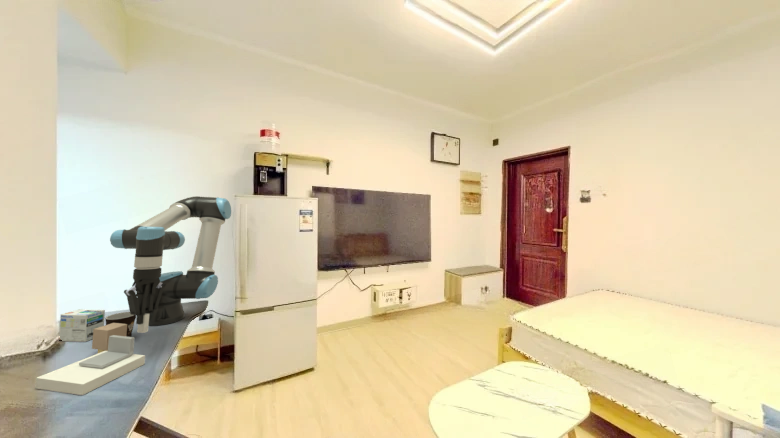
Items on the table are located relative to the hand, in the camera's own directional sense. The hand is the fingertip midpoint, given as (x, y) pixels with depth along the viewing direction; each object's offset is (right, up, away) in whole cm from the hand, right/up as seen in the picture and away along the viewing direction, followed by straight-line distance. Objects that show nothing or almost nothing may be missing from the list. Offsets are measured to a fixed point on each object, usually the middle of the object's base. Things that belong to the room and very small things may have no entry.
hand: (142, 331), depth 92 cm
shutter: (-1, -5, -10) cm, 11 cm away
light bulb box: (-35, -7, +10) cm, 37 cm away
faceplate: (-2, -8, -13) cm, 15 cm away
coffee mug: (-18, -8, +11) cm, 23 cm away
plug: (-13, -8, 0) cm, 15 cm away
